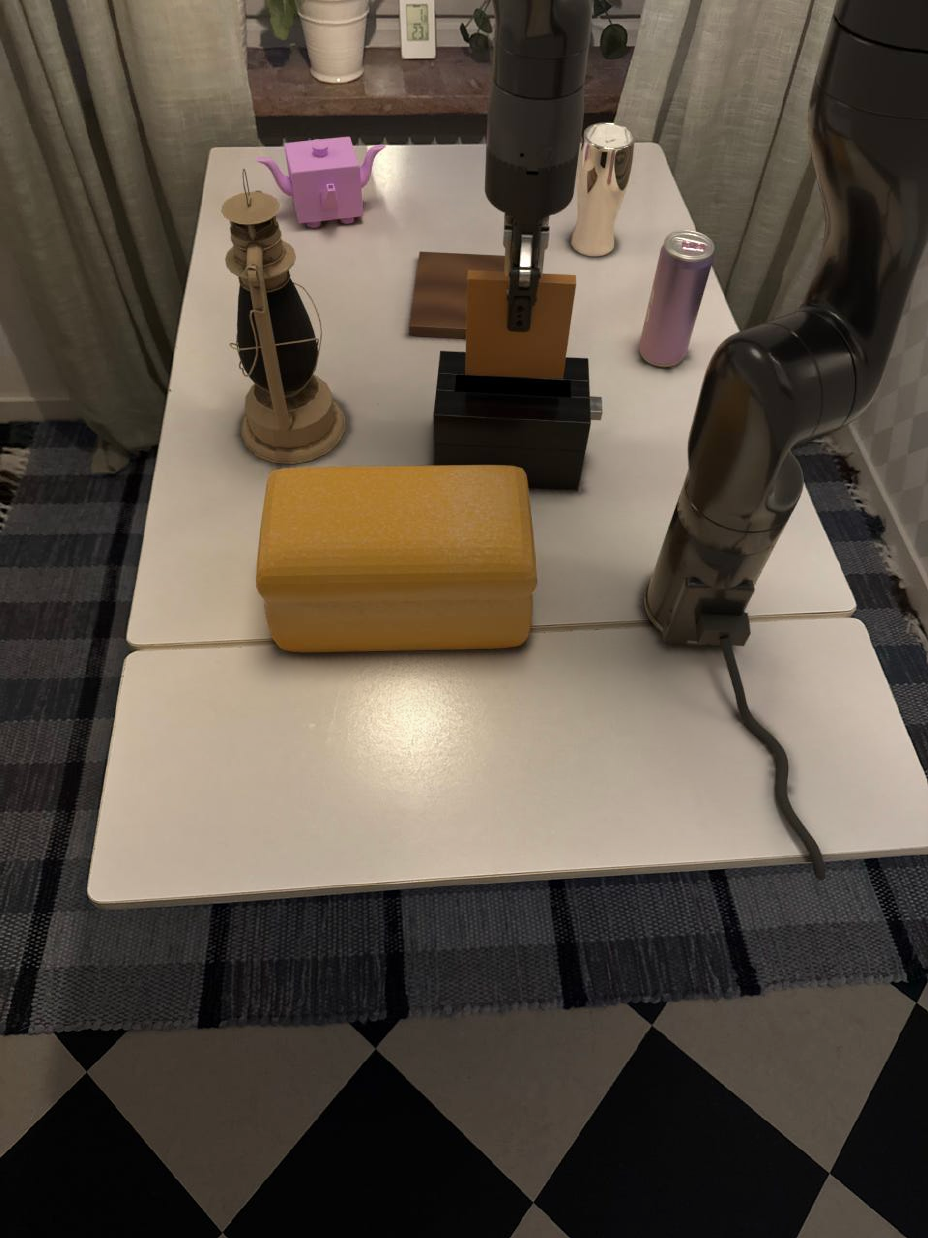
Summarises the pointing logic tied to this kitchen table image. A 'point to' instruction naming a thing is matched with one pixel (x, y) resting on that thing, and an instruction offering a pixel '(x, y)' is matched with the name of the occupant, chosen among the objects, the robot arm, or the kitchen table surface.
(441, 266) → the board
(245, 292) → the lantern
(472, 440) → the toaster
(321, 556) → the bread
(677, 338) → the beverage can
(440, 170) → the kitchen table surface
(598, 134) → the beer glass
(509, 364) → the toast
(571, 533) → the kitchen table surface
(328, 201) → the teapot
